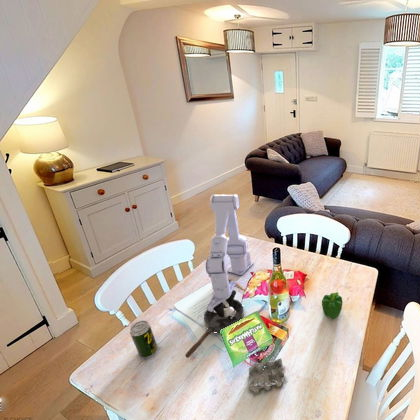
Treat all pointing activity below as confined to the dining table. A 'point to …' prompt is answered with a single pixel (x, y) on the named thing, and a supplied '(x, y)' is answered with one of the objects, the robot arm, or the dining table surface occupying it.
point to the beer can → (143, 339)
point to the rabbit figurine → (227, 310)
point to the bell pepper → (332, 305)
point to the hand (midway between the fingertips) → (225, 311)
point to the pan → (219, 322)
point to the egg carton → (266, 375)
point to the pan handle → (199, 342)
